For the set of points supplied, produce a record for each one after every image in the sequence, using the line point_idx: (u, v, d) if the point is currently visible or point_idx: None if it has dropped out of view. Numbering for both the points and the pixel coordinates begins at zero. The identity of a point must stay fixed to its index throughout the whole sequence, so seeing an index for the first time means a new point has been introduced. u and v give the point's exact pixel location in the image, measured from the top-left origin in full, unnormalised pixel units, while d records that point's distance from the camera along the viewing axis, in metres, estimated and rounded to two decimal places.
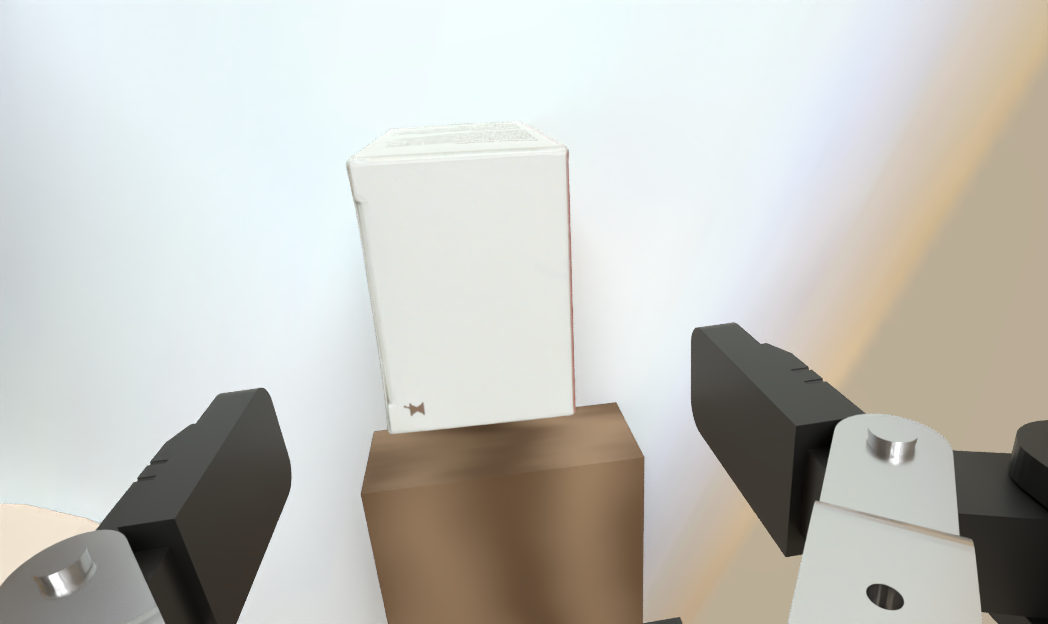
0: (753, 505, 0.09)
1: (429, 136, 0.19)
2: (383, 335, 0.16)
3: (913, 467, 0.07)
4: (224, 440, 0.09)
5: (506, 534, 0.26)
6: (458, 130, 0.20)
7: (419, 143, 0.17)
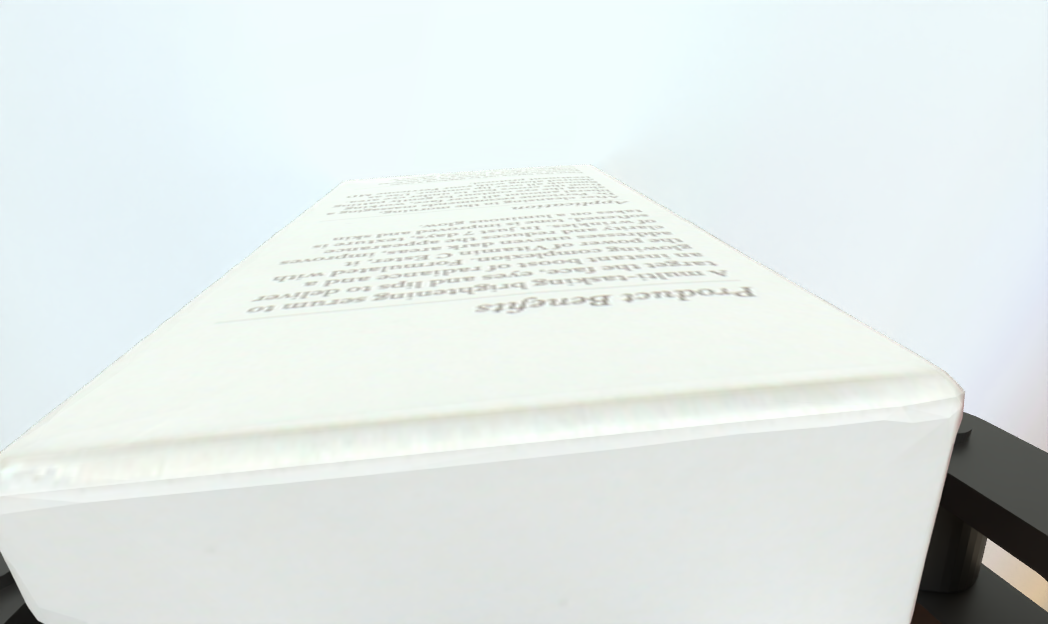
0: None
1: (405, 232, 0.07)
2: None
3: None
4: None
5: None
6: (476, 202, 0.09)
7: (362, 289, 0.05)
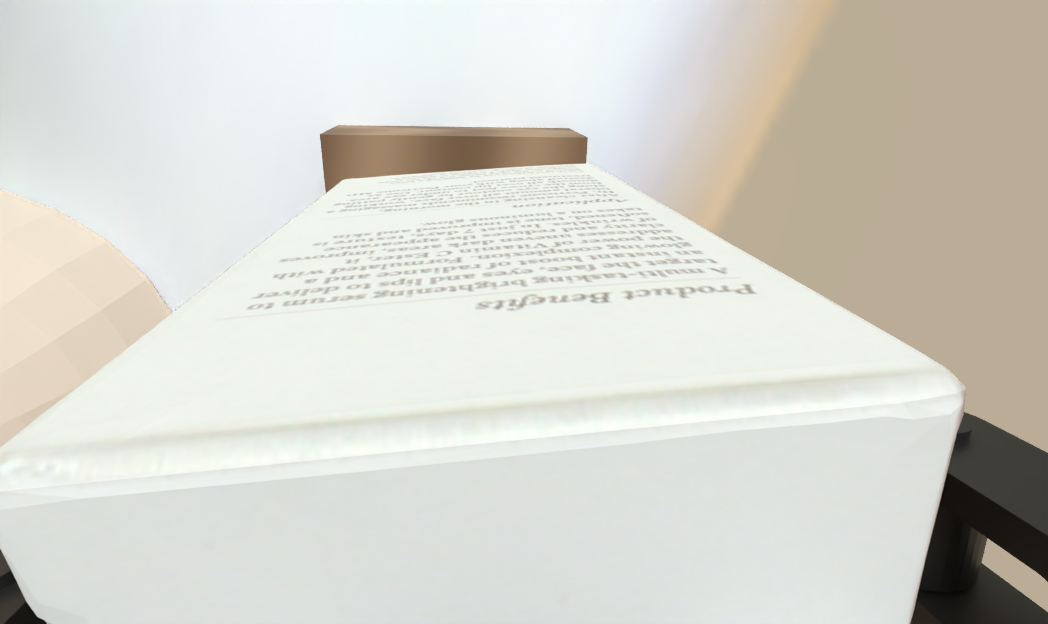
0: None
1: (405, 230, 0.07)
2: None
3: None
4: None
5: None
6: (477, 200, 0.09)
7: (362, 286, 0.05)
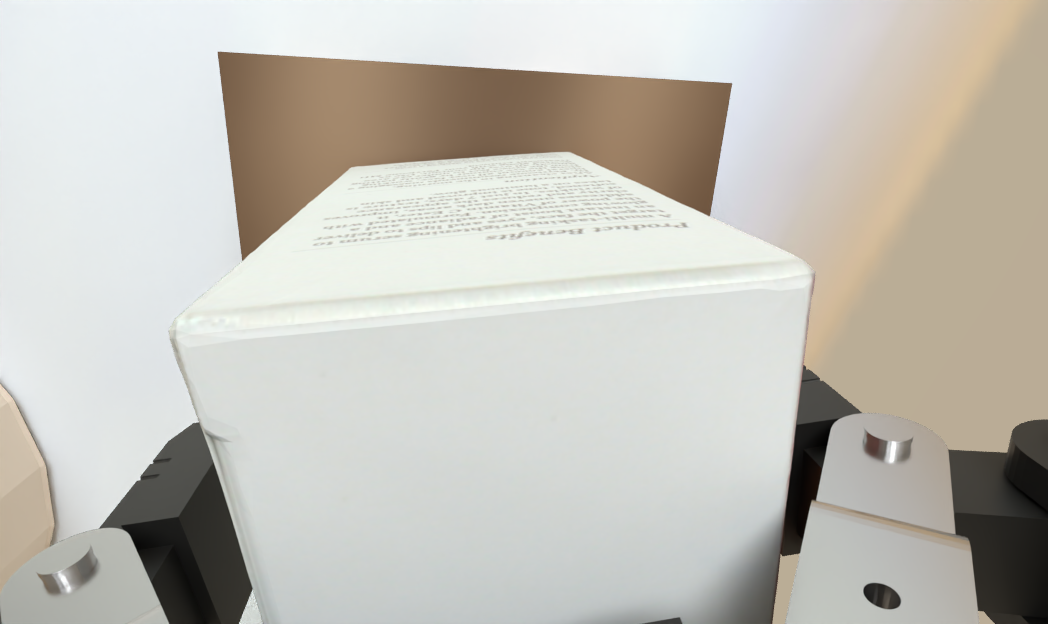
0: None
1: (419, 198, 0.09)
2: None
3: (908, 466, 0.07)
4: None
5: None
6: (474, 178, 0.11)
7: (396, 231, 0.07)
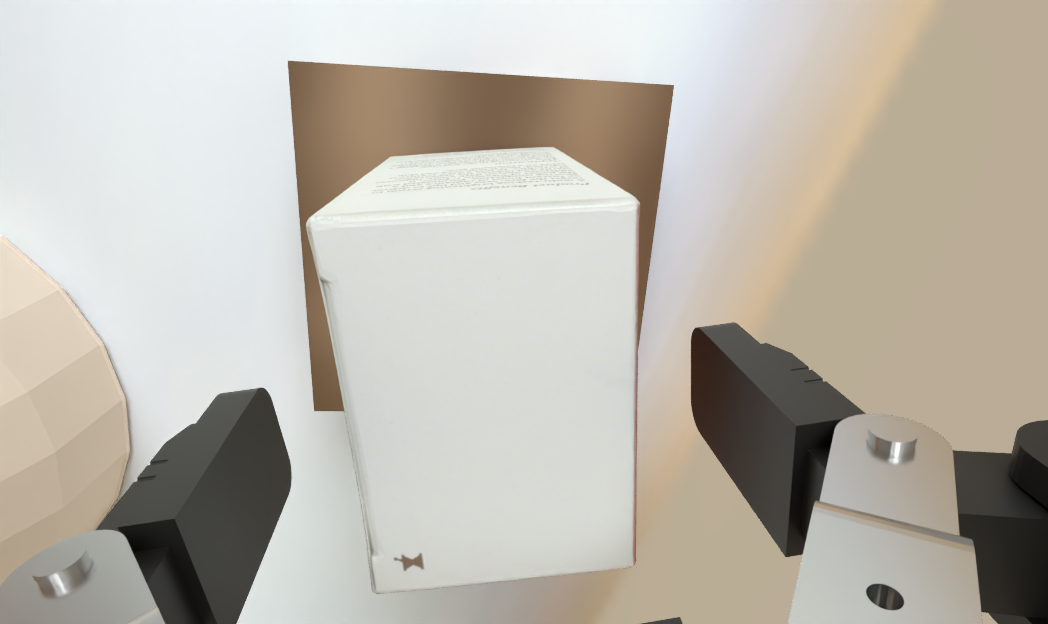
0: (753, 504, 0.09)
1: (436, 172, 0.14)
2: (364, 464, 0.11)
3: (912, 467, 0.07)
4: (224, 440, 0.09)
5: None
6: (475, 162, 0.15)
7: (420, 186, 0.12)
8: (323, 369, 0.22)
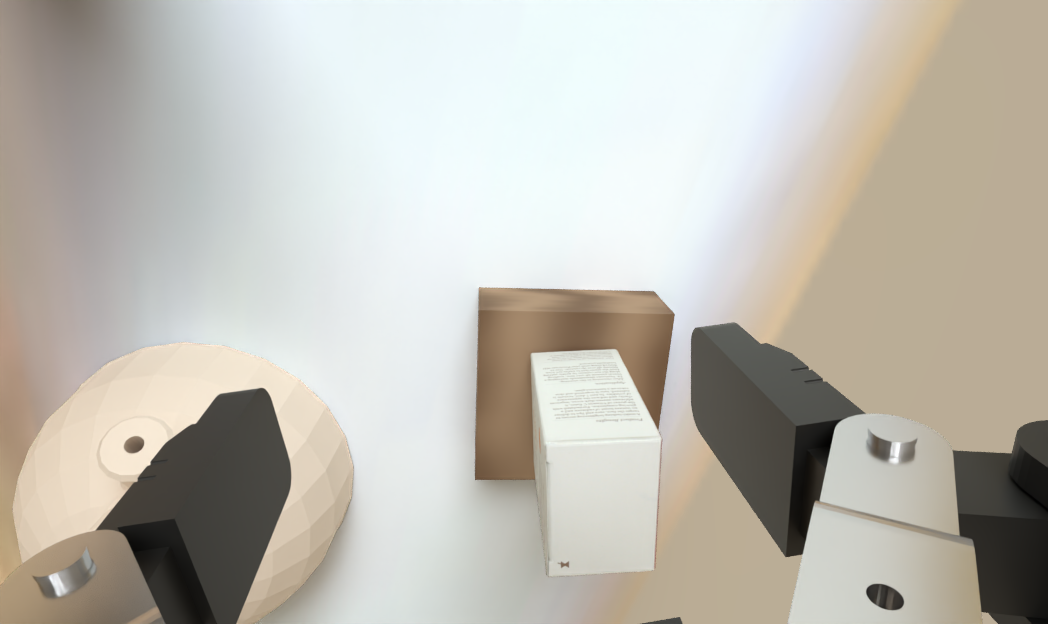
0: (754, 505, 0.09)
1: (572, 393, 0.31)
2: (551, 526, 0.29)
3: (913, 467, 0.07)
4: (224, 440, 0.09)
5: None
6: (584, 378, 0.33)
7: (573, 414, 0.29)
8: (482, 457, 0.39)
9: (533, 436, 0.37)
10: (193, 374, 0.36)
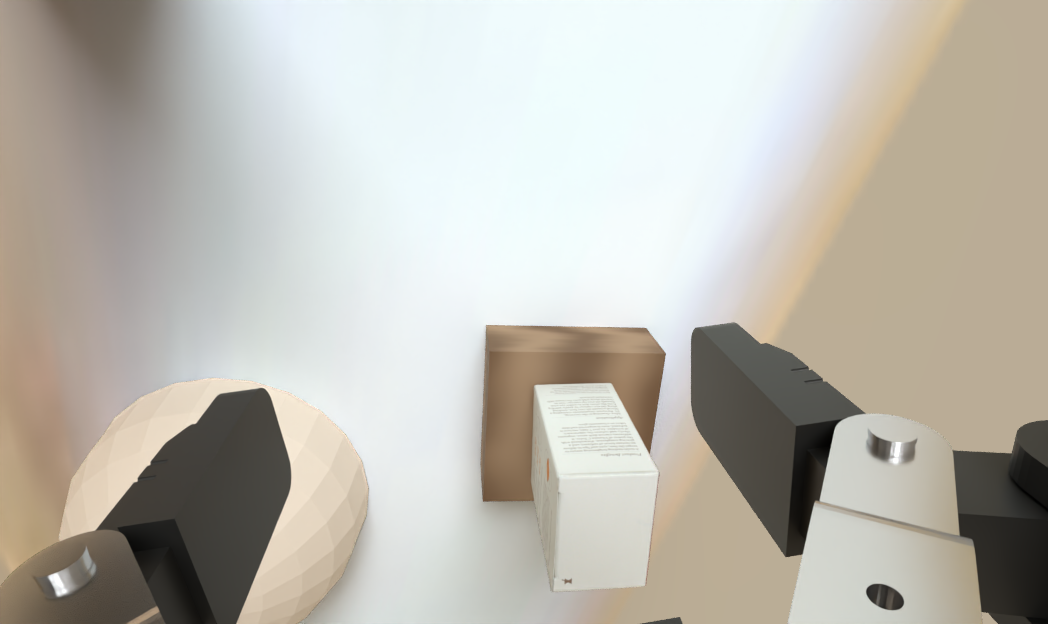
0: (753, 505, 0.09)
1: (576, 427, 0.35)
2: (558, 547, 0.32)
3: (913, 467, 0.07)
4: (224, 440, 0.09)
5: None
6: (586, 412, 0.37)
7: (580, 448, 0.33)
8: (489, 481, 0.43)
9: (533, 460, 0.41)
10: None
